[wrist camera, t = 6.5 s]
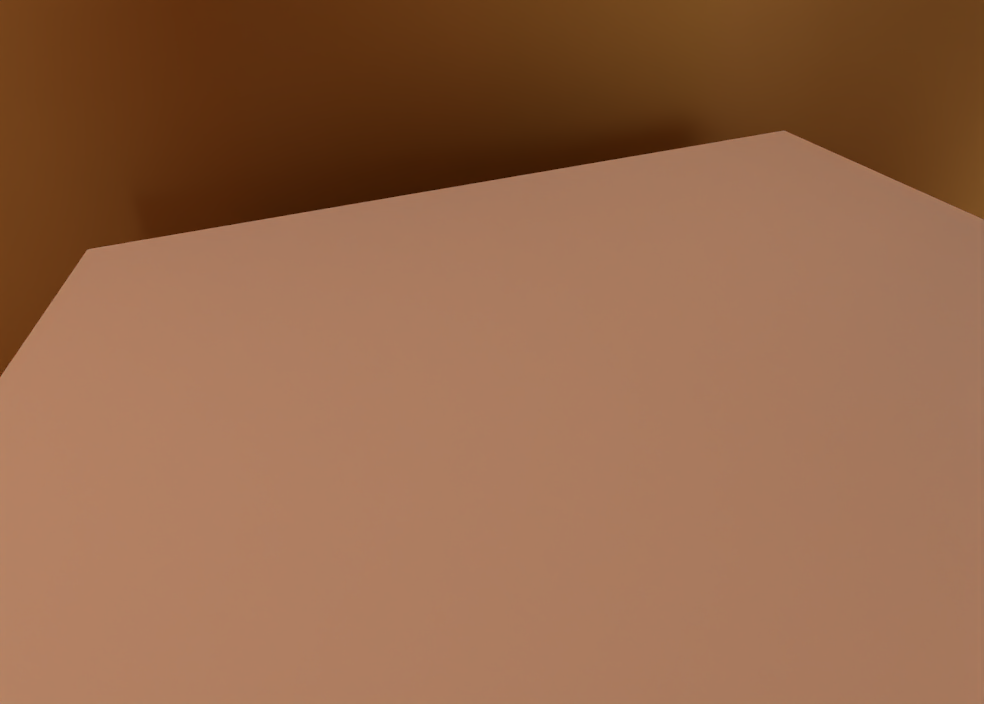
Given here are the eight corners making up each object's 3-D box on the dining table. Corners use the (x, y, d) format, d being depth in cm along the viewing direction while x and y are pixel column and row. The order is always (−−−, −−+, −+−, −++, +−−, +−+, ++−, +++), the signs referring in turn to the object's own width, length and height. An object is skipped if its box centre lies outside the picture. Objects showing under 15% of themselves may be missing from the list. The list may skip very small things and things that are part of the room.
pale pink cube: (784, 131, 8) (1861, 611, 2) (729, 575, 12) (1086, 1135, 7) (87, 249, 7) (-757, 1488, 2) (283, 688, 11) (253, 1460, 6)
